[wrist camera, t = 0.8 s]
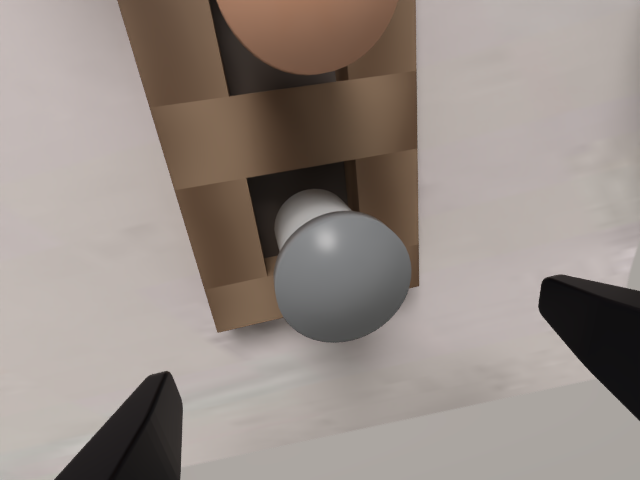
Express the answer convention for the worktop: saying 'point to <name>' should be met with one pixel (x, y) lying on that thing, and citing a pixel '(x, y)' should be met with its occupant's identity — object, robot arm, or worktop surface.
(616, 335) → the robot arm
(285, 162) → the socket board
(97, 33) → the worktop surface
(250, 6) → the plug terracotta
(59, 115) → the worktop surface
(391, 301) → the plug grey
